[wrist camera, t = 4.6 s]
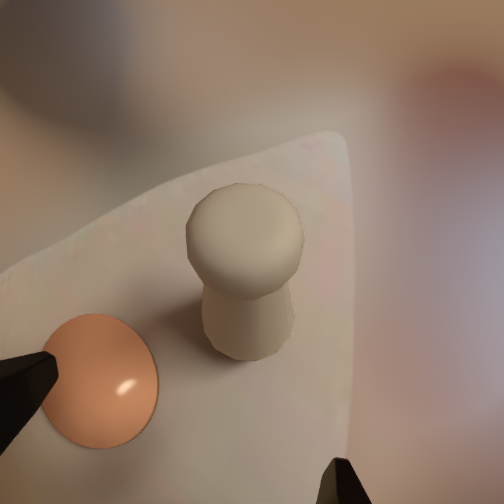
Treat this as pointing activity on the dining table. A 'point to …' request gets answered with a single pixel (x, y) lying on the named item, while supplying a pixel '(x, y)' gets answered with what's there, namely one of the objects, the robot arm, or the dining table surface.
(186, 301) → the dining table surface
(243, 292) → the salt shaker
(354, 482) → the robot arm
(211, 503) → the dining table surface
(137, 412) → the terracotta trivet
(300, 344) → the dining table surface
